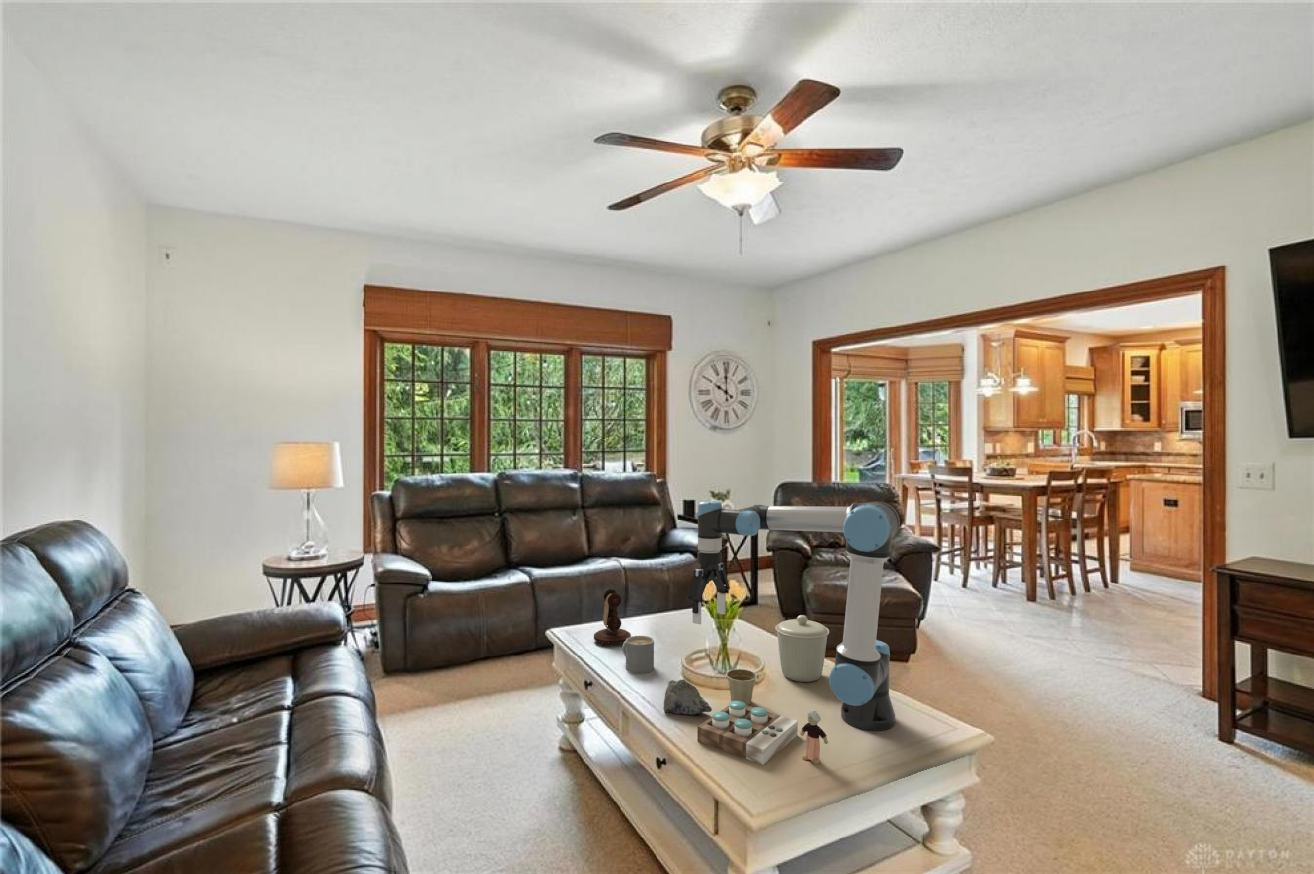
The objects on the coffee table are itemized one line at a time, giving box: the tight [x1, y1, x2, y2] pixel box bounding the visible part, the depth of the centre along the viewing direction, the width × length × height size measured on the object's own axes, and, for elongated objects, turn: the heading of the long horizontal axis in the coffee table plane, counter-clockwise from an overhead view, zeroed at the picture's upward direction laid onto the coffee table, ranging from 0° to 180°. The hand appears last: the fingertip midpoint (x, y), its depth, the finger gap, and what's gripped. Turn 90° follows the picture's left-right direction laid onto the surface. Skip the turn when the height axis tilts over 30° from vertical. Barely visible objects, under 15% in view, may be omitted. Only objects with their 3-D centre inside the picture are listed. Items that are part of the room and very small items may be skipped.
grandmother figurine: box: [799, 710, 829, 765], centre depth 163 cm, size 8×4×13 cm, turn 58°
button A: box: [751, 706, 769, 726], centre depth 177 cm, size 5×5×4 cm
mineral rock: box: [663, 679, 713, 716], centre depth 189 cm, size 13×11×10 cm
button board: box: [696, 705, 799, 766], centre depth 175 cm, size 20×20×4 cm
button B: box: [734, 719, 752, 738], centre depth 170 cm, size 5×5×4 cm
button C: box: [728, 701, 746, 718], centre depth 182 cm, size 5×5×4 cm
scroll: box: [593, 588, 632, 647], centre depth 254 cm, size 15×15×20 cm
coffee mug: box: [621, 635, 655, 675], centre depth 227 cm, size 13×10×10 cm
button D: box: [711, 711, 729, 730], centre depth 175 cm, size 5×5×4 cm
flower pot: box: [725, 668, 758, 706], centre depth 198 cm, size 9×9×9 cm
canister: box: [774, 614, 830, 683], centre depth 218 cm, size 18×18×21 cm
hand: (709, 618), depth 199 cm, fingers open, 13 cm apart
